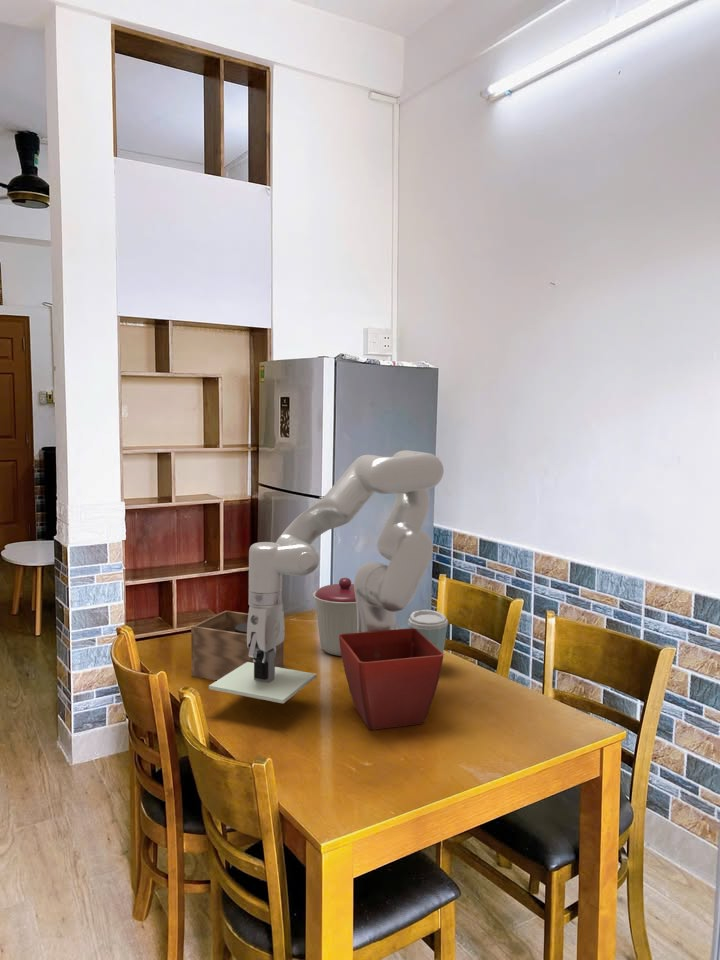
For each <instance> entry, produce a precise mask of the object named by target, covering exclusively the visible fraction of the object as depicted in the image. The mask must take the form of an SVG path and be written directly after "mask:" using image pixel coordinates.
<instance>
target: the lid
mask: <svg viewBox="0 0 720 960" xmlns="http://www.w3.org/2000/svg"><path fill="white" fill-rule="evenodd" d="M258 653H261V655H262V652H258ZM266 662H268V679H267V680H263V679H257V678H255V677H254V663H251V662H246V663H245V664H243V665H242V666H240V667H238V668H237V669H235V670H233V671H232V672H230V673H229V674H227V675H225V676H224V677H222V678H220V679H219V680H217V681H214V682H212V683H211V684H209V685H208V690H211V691H212V690H213V691H218V692H223V693H228V694H231V695H232V694H233V695H238V696H243V697H247V698H252V699H257V700H263V701H264V700H265V701H268V702H269V701H270V702H273V703H279V704H285V703H286V702H287V701H288V700H290V699H291V698H292V697H293V696H294V695H296V694H297V693H299V692H300V691H302V689H304V688H305V687H306V686H307V685H309V684H310V683H312V681H314V680H315V679H317V673H313V672H306V671H302V670H296V669H290V668H285V667H281V668H280V667H275V650H274V649H271V650H269V651H267V659H266ZM274 671H275V674H274Z"/></svg>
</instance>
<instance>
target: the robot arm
mask: <svg viewBox="0 0 720 960" xmlns="http://www.w3.org/2000/svg"><path fill="white" fill-rule="evenodd" d="M443 477H444V466H443V463H442V461H441V460H440V458H439V457H438V456H437V455H435V454H433V453H429V452H422V451H415V450H409V449H408V450H400V451H397V452H396V453H394V455H392V456H380V455H374V454H364V455H361V456H359V457H357V458H356V459H355V460H354V461H353V462H352V463H351V464H350V465H349V467H348V468H347V469H346V470H345V472H344V473H343V474H341V476H340V477H339V479H338V480H337V481H336V482H335V483H334V484H333V485H332V487H331V488H330V489H329V490H328V492H327V493H326V494H325V495H324V496H323V497H322V498H321V499H320V500H318V501H317V502H315V503H314V504H312V505H311V506H310V507H309V508H307V509H306V510H304V511H302V512H301V513H300V514H299V515H298V516H296V518H294V519H293V520H292V522H290V524H289V525H288V526H287V527H286V528H285V530H284V531H283V532H282V533H281V535H280V536H278V538H277V539H276V541H275V542H273V541H272V542H271V541H262V542H261V541H260V542H255V543H253V544H251V545H250V547H249V550H248V606H249V608H248V612H247V614H248V623H247V647H248V649H250V650H249V654H248V656H249V657H253V661H254V677H255V678H257V679H263V680H267V679H268V662H266V659H267V651H269V650H271V649H274V650H275V656H276V648H277V645H279V644H280V643H282V642H283V641H284V640H285V638H286V636H285V635H286V633H285V632H286V631H285V629H286V628H285V625H286V623H285V611H284V604H283V576H284V575H285V576H297V577H298V576H301V577H302V576H307V575H310V574H312V573H314V572H315V571H316V569H318V567H319V564H320V555H319V552H318V550H317V549H316V548H315V547H314V546H313V545H312V543H314V541H316V540H317V539H318V538H319V537H320V536H321V535H322V534H324V533H326V532H327V531H330V530H332V529H335V528H339V527H341V526H344V525H346V524H348V523H350V522H351V521H352V520H353V519H354V518H355V517H356V515H357V514H358V513H359V512H360V510H361V509H362V508H363V507H364V506H365V504H366V503H367V502H368V501H369V500H370V498H372V496H373V495H374V494H375V493H376V494H379V495H380V494H382V495H392V494H395V501H394V504H393V506H392V509H391V510H390V513H389V516H388V518H387V519H386V521H385V523H384V526H383V527H382V530H381V531H380V534H379V536H378V539H377V543H376V547H377V550H378V552H379V554H380V555H381V556H382V557H383V558H385V559H386V560H388V561H389V564H388V565H387V564H385V563H382V562H378V561H369V562H366V563H364V564H363V565H361V566H360V567H359V568H358V570H357V571H356V574H355V575H354V581H353V584H354V591H355V598H356V606H357V633H359V632H372V631H384V630H396V629H397V628H396V627H397V622H396V621H397V620H396V613H397V612H400V611H402V610H404V609H405V608H406V607H407V606H409V605H410V603H411V602H412V601H413V599H414V597H415V595H416V593H417V591H418V589H419V586H420V584H421V582H422V580H423V579H424V576H425V574H426V572H427V570H428V568H429V565H430V563H431V560H432V556H433V550H434V549H433V542H432V540H431V539H432V538H430V536H429V535H428V533H426V532H425V531H424V530H422V529H423V527H424V523H425V520H426V518H427V516H428V513H429V510H430V504H431V503H430V502H431V501H430V493H429V489H433V488H434V487H436V486H437V485H438V484H439V483H440V482H441V481H442V478H443ZM284 642H285V641H284ZM258 646H259V647H258ZM258 652H262V655H261V653H258ZM274 674H275V671H274Z"/></svg>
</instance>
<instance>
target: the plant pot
mask: <svg viewBox="0 0 720 960" xmlns="http://www.w3.org/2000/svg"><path fill="white" fill-rule="evenodd" d="M339 642H340V649H341V655H342V656H341V660H342V664H343V669H344V674H345V678H346V681H347V686H348V690H349V693H350V696H351V699H352V702H353V705H354V708H355V709H356V711H357V713H358V714H359V716H360V717H361V719H362V721H363V722H364V724H365V725H366V727H367V728H368V729H370V730H381V729H388V728H397V727H404V726H414V725H421V724H424V723H425V720H426V718H427V716H428V713H429V710H430V708H431V707H432V706H431V705H432V703H433V700H434V698H435V694H436V691H437V687H438V683H439V681H440V676H441V672H442V666H443V660H444V655H445V654H444V652H443V653H442V652H441V651H440V650H439V649H438V648H436V647H435V646H434V645H433V644H432V643H431V642H430V641H429V640H428V639H426V638H425V637H424V636H423V635H422V634H421V633H420V632H419V631H418V630H417V629H413V628H409V627H408V628H400V629H399V628H398V629H397V628H396V629H395V630H384V631H372V632H359V633H347V634H340V635H339Z"/></svg>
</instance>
